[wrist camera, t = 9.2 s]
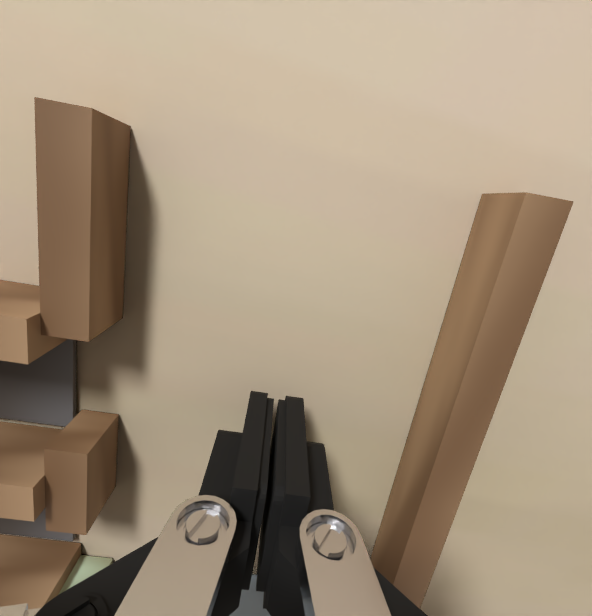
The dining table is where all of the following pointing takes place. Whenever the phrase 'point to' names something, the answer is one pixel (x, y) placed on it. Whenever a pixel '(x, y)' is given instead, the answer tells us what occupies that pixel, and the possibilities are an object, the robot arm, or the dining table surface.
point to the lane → (109, 309)
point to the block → (251, 602)
